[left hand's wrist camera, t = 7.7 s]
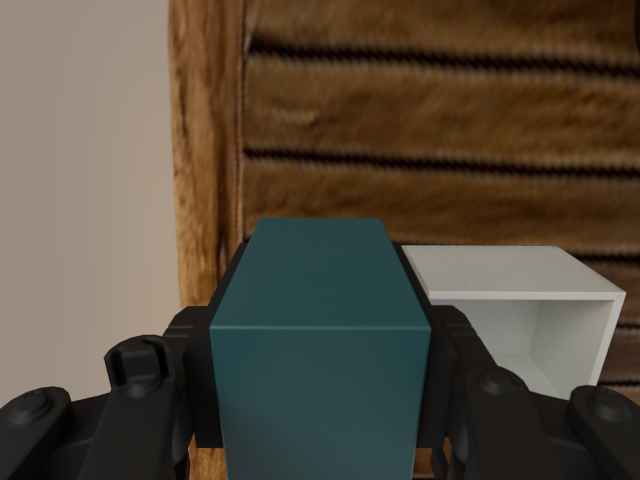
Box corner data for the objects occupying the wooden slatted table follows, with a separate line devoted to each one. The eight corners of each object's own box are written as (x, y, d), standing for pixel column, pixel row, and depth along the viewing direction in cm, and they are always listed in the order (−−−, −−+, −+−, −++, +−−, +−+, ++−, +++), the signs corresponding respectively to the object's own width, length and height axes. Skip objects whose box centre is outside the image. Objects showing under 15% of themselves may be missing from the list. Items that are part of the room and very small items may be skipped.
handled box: (556, 245, 32) (636, 298, 24) (506, 454, 41) (552, 545, 33) (398, 245, 32) (424, 297, 24) (382, 453, 41) (396, 544, 33)
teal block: (381, 217, 14) (432, 327, 8) (374, 321, 16) (412, 484, 9) (259, 217, 14) (207, 326, 8) (265, 321, 16) (226, 484, 9)
